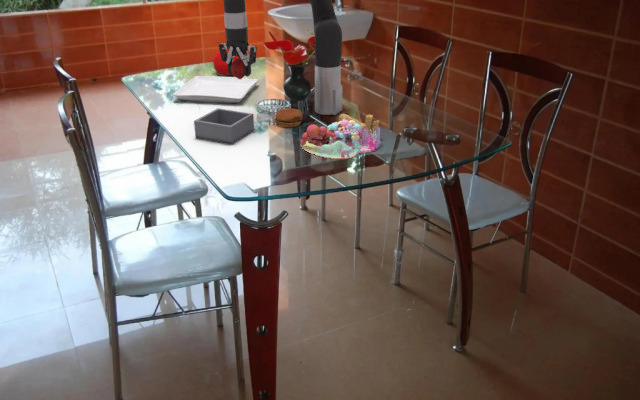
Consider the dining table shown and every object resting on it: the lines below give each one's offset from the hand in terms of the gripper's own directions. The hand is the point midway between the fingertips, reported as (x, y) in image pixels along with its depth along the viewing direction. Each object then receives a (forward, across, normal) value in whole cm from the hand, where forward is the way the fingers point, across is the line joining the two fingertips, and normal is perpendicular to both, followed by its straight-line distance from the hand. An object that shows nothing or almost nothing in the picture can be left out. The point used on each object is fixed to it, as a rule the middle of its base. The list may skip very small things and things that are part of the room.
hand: (239, 74), depth 221 cm
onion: (+2, 0, 0) cm, 2 cm away
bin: (+15, -4, +17) cm, 23 cm away
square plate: (+16, +23, -20) cm, 35 cm away
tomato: (+16, +34, -47) cm, 60 cm away
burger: (+16, -18, -2) cm, 24 cm away
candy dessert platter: (+17, -42, +9) cm, 46 cm away
